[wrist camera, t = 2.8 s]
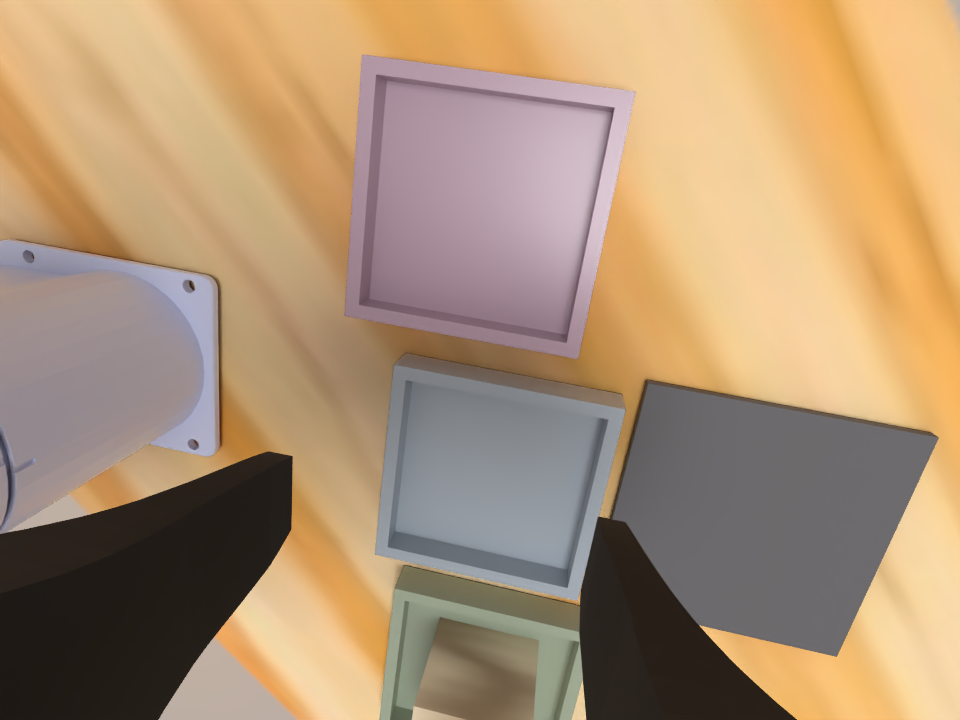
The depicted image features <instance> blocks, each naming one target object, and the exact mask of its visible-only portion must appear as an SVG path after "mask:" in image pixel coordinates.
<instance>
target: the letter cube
mask: <svg viewBox="0 0 960 720" xmlns="http://www.w3.org/2000/svg"><path fill="white" fill-rule="evenodd" d="M538 645H539V641H538V640H534V639H530V638H526V637H522V636H517V635H513V634H509V633H505V632H501V631H497V630H492V629H488V628H484V627H480V626H476V625H471V624H467V623H463V622H459V621H455V620H450V619H446V618H442V617H440V620H439V623H438V627H437V630H436V633H435V637H434V640H433V643H432V647H431V650H430V654H429V657H428V660H427V664H426V667H425V670H424V674H423V677H422V680H421V684H420V687H419V690H418V694H417V697H416V701H415V704H414V708H413V715H412V720H533V719H534V704H535V689H536V675H537V660H538Z"/></svg>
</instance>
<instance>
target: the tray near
mask: <svg viewBox="0 0 960 720" xmlns="http://www.w3.org/2000/svg"><path fill="white" fill-rule="evenodd" d="M634 97H635V91H628V90H620V89H613V88H606V87H598V86H591V85H583V84H576V83H569V82H561V81H554V80H546V79H539V78H532V77H524V76H517V75H509V74H502V73H495V72H487V71H480V70H473V69H465V68H458V67H450V66H443V65H436V64H428V63H421V62H413V61H406V60H399V59H391V58H384V57H377V56H369V55H362V61H361V76H360V91H359V106H358V121H357V136H356V151H355V167H354V182H353V197H352V212H351V227H350V242H349V257H348V272H347V287H346V302H345V316H347V317H353V318H358V319H364V320H369V321H374V322H380V323H385V324H391V325H396V326H401V327H407V328H412V329H417V330H423V331H428V332H434V333H439V334H444V335H450V336H455V337H461V338H466V339H471V340H477V341H482V342H488V343H493V344H498V345H504V346H509V347H514V348H520V349H525V350H531V351H536V352H541V353H547V354H552V355H558V356H563V357H568V358H574V359H578V357H579V352H580V348H581V343H582V338H583V334H584V329H585V324H586V320H587V315H588V310H589V306H590V301H591V297H592V292H593V287H594V283H595V278H596V273H597V269H598V264H599V259H600V255H601V250H602V245H603V241H604V236H605V232H606V227H607V222H608V218H609V213H610V208H611V204H612V199H613V194H614V190H615V185H616V180H617V176H618V171H619V167H620V162H621V157H622V153H623V148H624V143H625V139H626V134H627V129H628V125H629V120H630V115H631V111H632V106H633V102H634Z"/></svg>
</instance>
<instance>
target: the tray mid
mask: <svg viewBox="0 0 960 720" xmlns="http://www.w3.org/2000/svg"><path fill="white" fill-rule="evenodd" d="M625 411H626V408H625V404H624V400H623V396H622V394H618V393H613V392H608V391H603V390H597V389H592V388H587V387H582V386H576V385H571V384H566V383H561V382H555V381H550V380H545V379H540V378H534V377H529V376H524V375H519V374H513V373H508V372H503V371H498V370H492V369H487V368H482V367H477V366H471V365H466V364H461V363H456V362H450V361H445V360H440V359H435V358H429V357H424V356H419V355H414V354H408V353H405V354H404V355H403V356H402V357H401V358H400V359H399V360H398V361H397V362H396V363H395V364H394V368H393V378H392V388H391V398H390V408H389V418H388V428H387V438H386V448H385V458H384V468H383V478H382V488H381V499H380V509H379V519H378V529H377V539H376V549H375V555H380V556H384V557H388V558H393V559H397V560H401V561H406V562H410V563H415V564H419V565H423V566H428V567H432V568H436V569H441V570H445V571H449V572H454V573H458V574H462V575H467V576H471V577H475V578H480V579H484V580H489V581H493V582H497V583H502V584H506V585H510V586H515V587H519V588H523V589H528V590H532V591H536V592H541V593H545V594H550V595H554V596H558V597H563V598H567V599H571V600H576V601H578V597H579V593H580V589H581V585H582V581H583V577H584V573H585V569H586V565H587V561H588V557H589V553H590V549H591V544H592V540H593V535H594V531H595V527H596V522H597V518H598V517H599V514H600V510H601V506H602V502H603V498H604V494H605V490H606V486H607V482H608V478H609V474H610V470H611V467H612V463H613V459H614V455H615V451H616V447H617V443H618V439H619V435H620V431H621V427H622V423H623V419H624V415H625Z"/></svg>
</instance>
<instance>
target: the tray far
mask: <svg viewBox="0 0 960 720" xmlns="http://www.w3.org/2000/svg"><path fill="white" fill-rule="evenodd" d="M440 617H442V618H446V619H450V620H455V621H459V622H463V623H467V624H471V625H476V626H480V627H484V628H488V629H492V630H497V631H501V632H505V633H509V634H513V635H517V636H522V637H526V638H530V639H534V640H538V641H539V645H538V660H537V675H536V689H535V704H534V719H533V720H571V719H572V716H573V712H574V708H575V705H576V701H577V697H578V694H579V690H580V686H581V683H582V679H583V674H582V662H581V650H580V637H579V627H580V606H578V605H574V604H570V603H565V602H561V601H557V600H552V599H548V598H544V597H539V596H535V595H531V594H526V593H522V592H518V591H513V590H509V589H505V588H500V587H496V586H492V585H487V584H483V583H479V582H474V581H470V580H466V579H461V578H457V577H452V576H448V575H444V574H439V573H435V572H431V571H426V570H422V569H418V568H413V567H409V566H404V568H403V570H402V573H401V575H400V577H399V580H398V582H397V584H396V586H395V590H394V598H393V607H392V615H391V624H390V632H389V641H388V650H387V658H386V667H385V675H384V684H383V692H382V701H381V710H380V718H379V720H412V715H413V708H414V704H415V701H416V697H417V694H418V690H419V687H420V684H421V680H422V677H423V674H424V670H425V667H426V664H427V660H428V657H429V654H430V650H431V647H432V643H433V640H434V637H435V633H436V630H437V627H438V623H439V620H440Z"/></svg>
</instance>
